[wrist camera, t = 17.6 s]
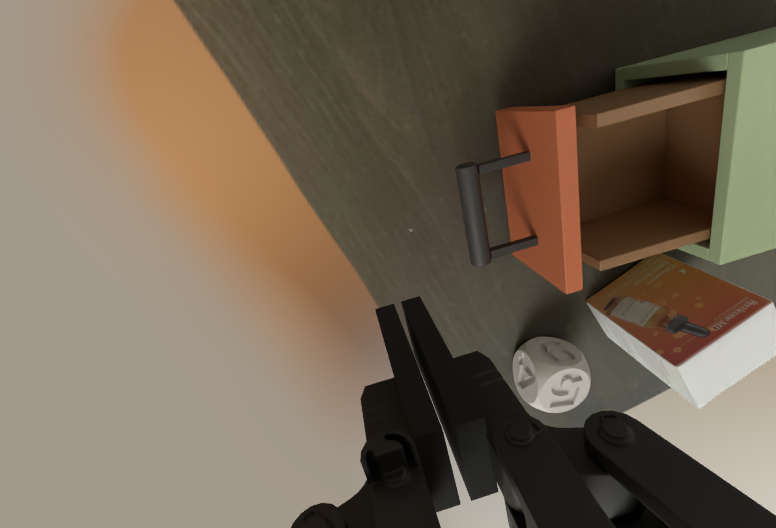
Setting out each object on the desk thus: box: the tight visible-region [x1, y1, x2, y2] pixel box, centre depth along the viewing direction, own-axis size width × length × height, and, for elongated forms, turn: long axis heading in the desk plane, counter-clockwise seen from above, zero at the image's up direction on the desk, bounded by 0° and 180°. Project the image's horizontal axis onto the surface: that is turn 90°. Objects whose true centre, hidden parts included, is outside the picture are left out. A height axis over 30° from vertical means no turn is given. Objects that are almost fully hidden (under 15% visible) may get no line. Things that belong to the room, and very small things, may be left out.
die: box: [513, 337, 591, 413], centre depth 36 cm, size 5×5×5 cm
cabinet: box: [615, 27, 776, 265], centre depth 28 cm, size 15×13×10 cm
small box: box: [586, 253, 776, 409], centre depth 33 cm, size 8×6×10 cm
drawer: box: [455, 71, 727, 294], centre depth 27 cm, size 18×12×8 cm, turn 104°
